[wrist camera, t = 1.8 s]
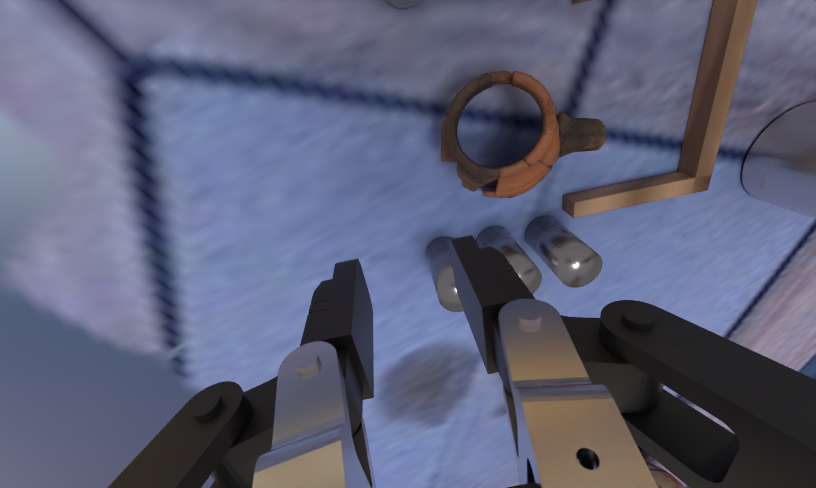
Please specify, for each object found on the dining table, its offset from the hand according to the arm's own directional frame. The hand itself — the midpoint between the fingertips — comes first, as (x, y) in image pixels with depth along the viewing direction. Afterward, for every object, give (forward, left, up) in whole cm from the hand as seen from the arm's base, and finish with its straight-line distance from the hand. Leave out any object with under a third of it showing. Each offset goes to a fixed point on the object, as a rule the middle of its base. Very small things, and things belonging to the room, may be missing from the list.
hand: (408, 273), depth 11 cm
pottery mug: (-10, +1, -19) cm, 22 cm away
